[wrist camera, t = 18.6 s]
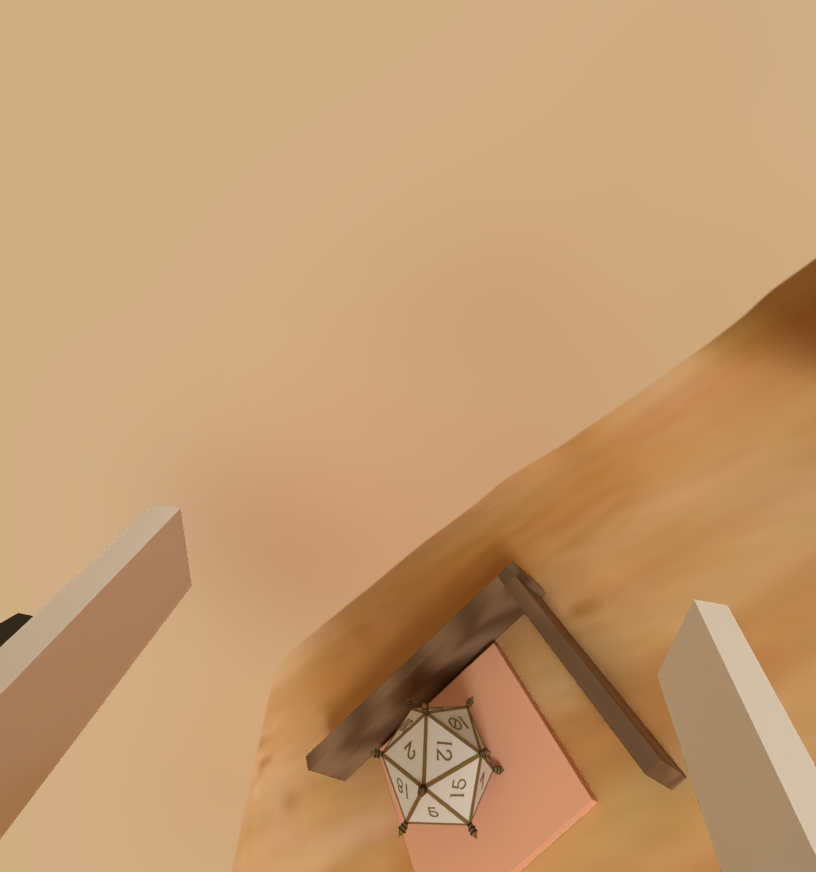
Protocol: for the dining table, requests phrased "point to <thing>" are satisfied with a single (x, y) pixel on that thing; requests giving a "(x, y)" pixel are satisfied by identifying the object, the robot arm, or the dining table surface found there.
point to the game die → (438, 766)
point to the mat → (503, 779)
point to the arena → (455, 653)
